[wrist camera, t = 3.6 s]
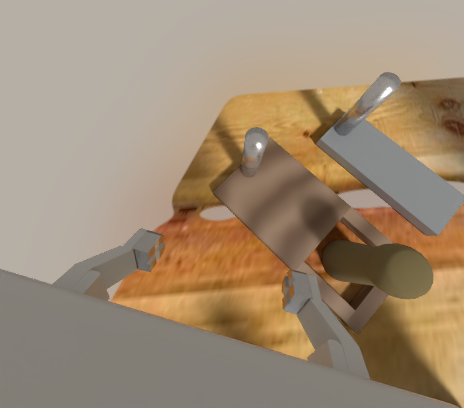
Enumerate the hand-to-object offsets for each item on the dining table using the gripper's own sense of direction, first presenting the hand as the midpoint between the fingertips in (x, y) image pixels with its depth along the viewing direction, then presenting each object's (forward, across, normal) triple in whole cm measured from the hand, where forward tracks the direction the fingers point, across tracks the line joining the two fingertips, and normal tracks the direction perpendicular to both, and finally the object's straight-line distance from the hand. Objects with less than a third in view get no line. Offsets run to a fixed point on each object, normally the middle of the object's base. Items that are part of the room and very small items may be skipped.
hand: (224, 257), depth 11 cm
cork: (+14, -17, +10) cm, 24 cm away
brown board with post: (+16, -10, +7) cm, 20 cm away
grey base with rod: (+24, -21, -2) cm, 33 cm away
